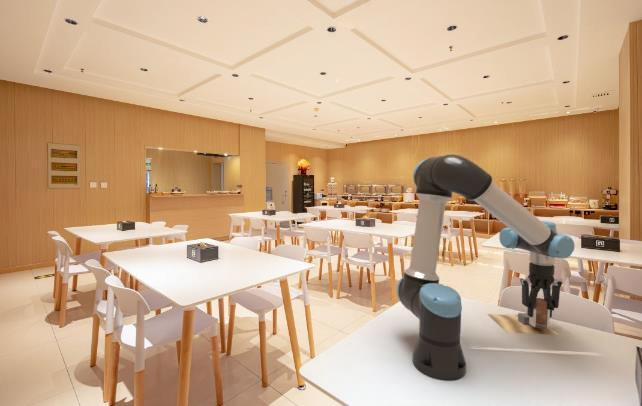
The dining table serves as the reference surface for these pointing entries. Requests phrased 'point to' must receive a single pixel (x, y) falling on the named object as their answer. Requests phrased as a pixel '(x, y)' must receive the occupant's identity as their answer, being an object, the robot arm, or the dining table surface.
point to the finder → (523, 318)
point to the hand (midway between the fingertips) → (538, 325)
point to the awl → (541, 313)
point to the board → (518, 325)
